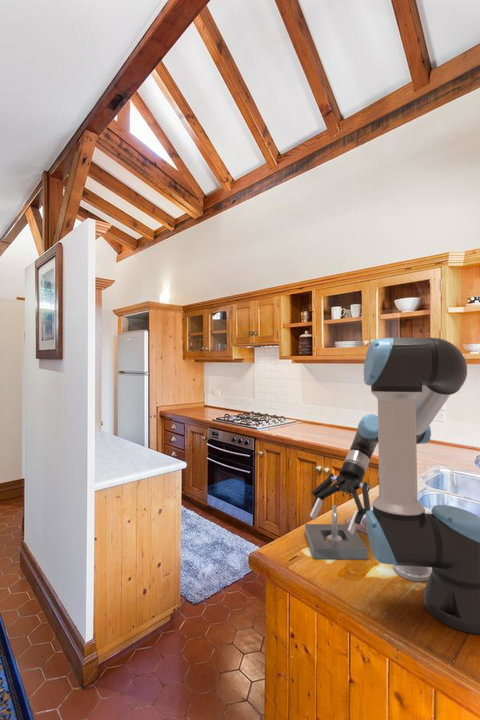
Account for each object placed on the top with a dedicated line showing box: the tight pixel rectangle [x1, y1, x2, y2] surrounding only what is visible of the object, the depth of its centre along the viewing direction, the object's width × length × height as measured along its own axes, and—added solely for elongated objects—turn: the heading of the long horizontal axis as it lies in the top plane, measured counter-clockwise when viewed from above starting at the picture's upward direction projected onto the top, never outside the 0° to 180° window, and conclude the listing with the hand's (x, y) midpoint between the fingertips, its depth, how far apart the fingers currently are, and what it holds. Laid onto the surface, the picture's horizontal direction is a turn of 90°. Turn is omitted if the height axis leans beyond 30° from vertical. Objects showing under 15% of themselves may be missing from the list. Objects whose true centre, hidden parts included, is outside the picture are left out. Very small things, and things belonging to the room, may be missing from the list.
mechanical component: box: [392, 565, 432, 582], centre depth 103 cm, size 10×4×10 cm
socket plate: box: [304, 523, 369, 560], centre depth 117 cm, size 16×16×3 cm
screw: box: [326, 504, 343, 542], centre depth 117 cm, size 13×5×5 cm
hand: (330, 525), depth 115 cm, fingers open, 13 cm apart
